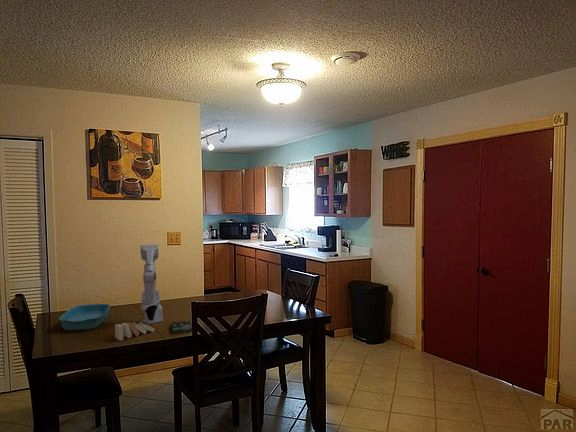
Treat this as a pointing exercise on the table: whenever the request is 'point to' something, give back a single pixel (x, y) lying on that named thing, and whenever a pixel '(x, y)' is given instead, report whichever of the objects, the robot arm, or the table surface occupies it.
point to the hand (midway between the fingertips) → (151, 320)
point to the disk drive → (181, 327)
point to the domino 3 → (133, 329)
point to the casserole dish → (84, 316)
